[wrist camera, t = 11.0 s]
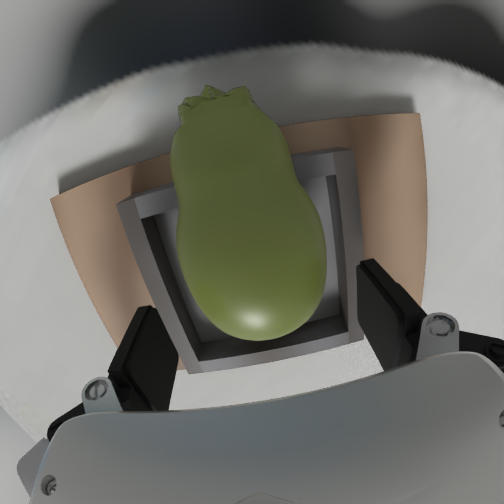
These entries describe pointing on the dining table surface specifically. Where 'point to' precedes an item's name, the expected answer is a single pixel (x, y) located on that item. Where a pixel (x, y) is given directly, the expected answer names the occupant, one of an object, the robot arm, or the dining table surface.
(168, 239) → the tray
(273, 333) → the pear
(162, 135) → the dining table surface
